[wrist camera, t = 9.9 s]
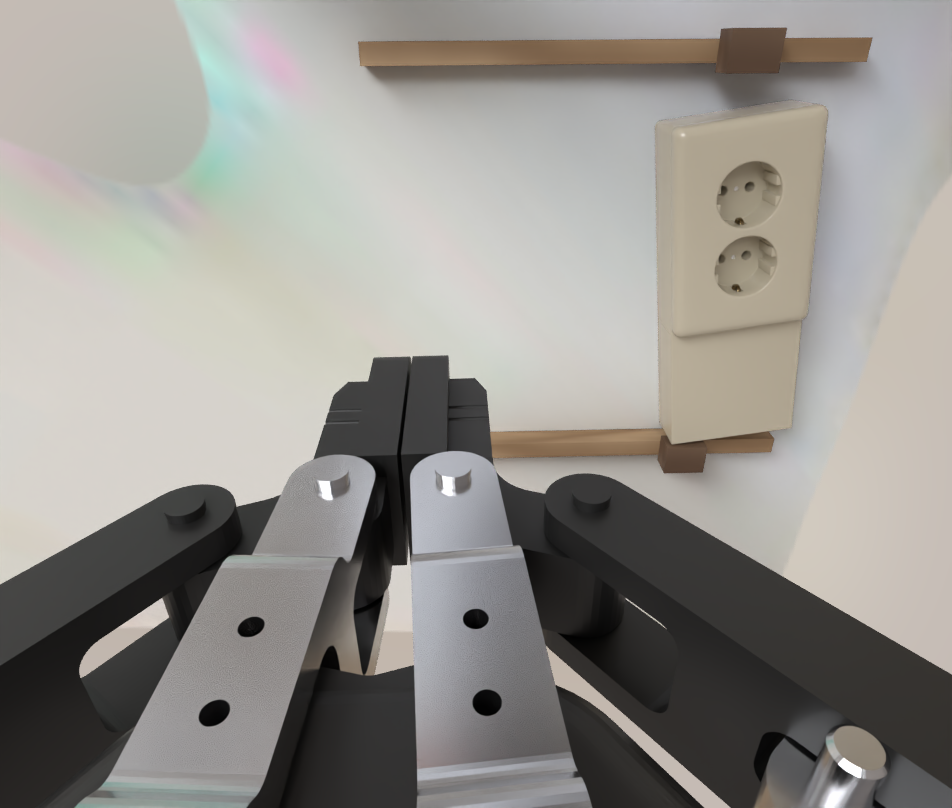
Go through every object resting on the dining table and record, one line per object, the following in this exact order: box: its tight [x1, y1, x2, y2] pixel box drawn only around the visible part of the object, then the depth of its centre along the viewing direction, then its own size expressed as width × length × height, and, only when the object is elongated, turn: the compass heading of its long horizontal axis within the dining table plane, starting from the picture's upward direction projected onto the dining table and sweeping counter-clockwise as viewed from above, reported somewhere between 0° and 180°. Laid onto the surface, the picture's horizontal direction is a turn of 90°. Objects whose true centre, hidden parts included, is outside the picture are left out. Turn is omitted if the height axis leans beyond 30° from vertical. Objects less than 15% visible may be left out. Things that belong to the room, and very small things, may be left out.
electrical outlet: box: [655, 100, 828, 444], centre depth 36 cm, size 7×4×18 cm
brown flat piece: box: [358, 28, 872, 473], centre depth 36 cm, size 24×24×3 cm
